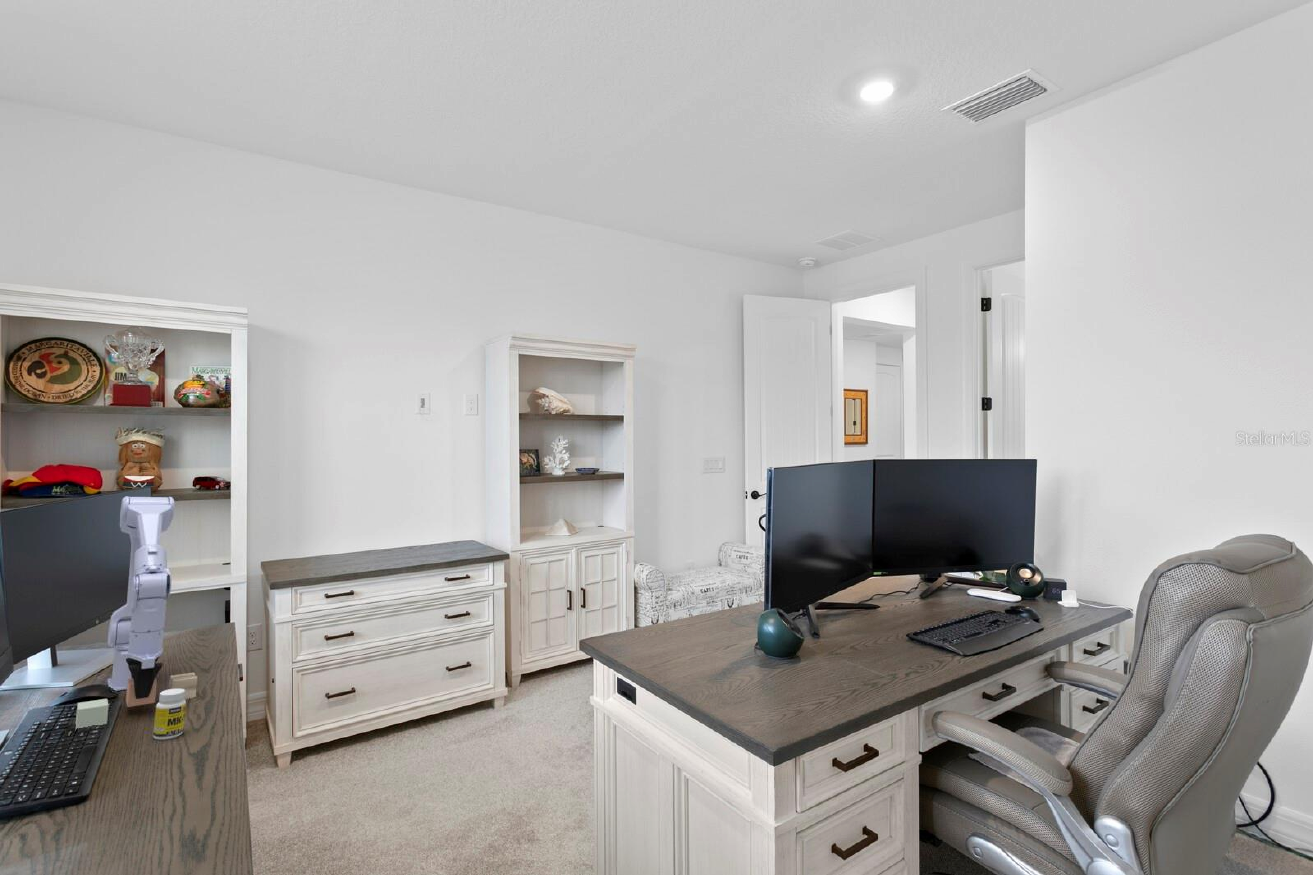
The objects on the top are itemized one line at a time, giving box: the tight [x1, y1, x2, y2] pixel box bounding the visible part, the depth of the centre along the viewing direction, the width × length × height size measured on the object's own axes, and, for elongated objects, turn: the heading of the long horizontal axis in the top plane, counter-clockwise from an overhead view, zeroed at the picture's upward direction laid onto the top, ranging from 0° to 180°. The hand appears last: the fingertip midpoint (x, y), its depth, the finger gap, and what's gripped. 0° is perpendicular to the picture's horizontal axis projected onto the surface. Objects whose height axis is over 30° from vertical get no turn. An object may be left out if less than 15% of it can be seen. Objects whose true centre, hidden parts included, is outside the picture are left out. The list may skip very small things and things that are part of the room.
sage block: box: [75, 698, 110, 730], centre depth 129 cm, size 4×4×4 cm
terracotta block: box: [125, 678, 158, 708], centre depth 138 cm, size 4×4×4 cm
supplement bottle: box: [152, 688, 187, 741], centre depth 127 cm, size 5×5×8 cm
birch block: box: [168, 672, 198, 700], centre depth 147 cm, size 4×4×4 cm
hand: (140, 694), depth 138 cm, fingers closed on terracotta block, 4 cm apart
